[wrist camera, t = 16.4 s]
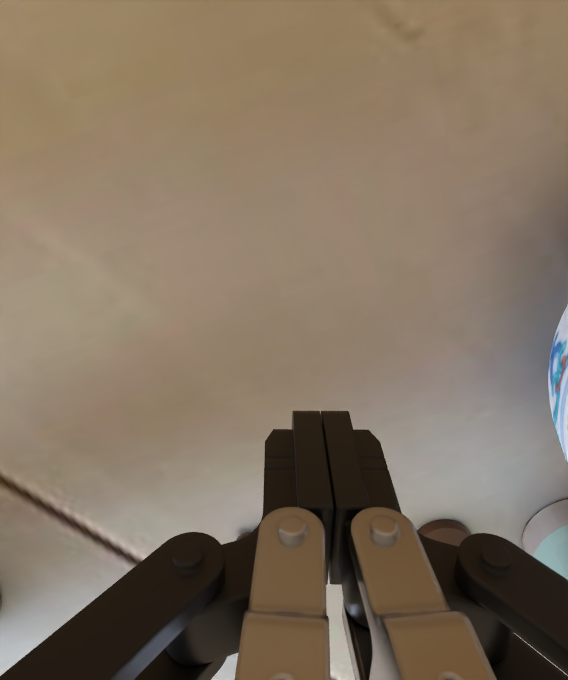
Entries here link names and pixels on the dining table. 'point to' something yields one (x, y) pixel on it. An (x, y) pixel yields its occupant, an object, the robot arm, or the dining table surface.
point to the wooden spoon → (436, 532)
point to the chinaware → (560, 382)
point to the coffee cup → (549, 537)
